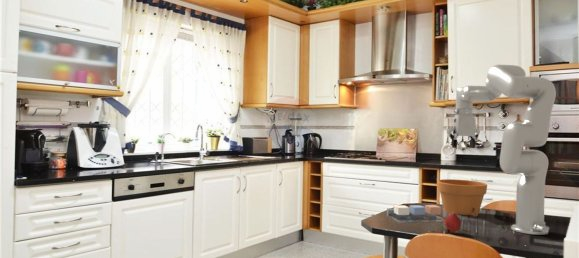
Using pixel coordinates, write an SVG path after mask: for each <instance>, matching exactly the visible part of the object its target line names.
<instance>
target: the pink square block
mask: <svg viewBox="0 0 579 258" xmlns="http://www.w3.org/2000/svg"><path fill="white" fill-rule="evenodd" d="M424 207H425V212H426V213H428V214H430V215H431V214H436V215H441V214H442V207H441V206H438V205H436V204H428V205H427V204H425V205H424Z"/></svg>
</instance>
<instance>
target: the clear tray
mask: <svg viewBox="0 0 579 258" xmlns="http://www.w3.org/2000/svg"><path fill="white" fill-rule="evenodd" d="M386 216H387V217H389V218H390V219H392V220H394V221H396V222H398V223H426V222H427V223H429V222H430V223H432V222H434V223H435V222H441V223H442V222H445V219H446V218H443V217H440V215H438V214H431V215H430V214H428V213H426V212H425V215H414V214H412V213H410V207H409V215H397V214H396V213H394V207H393V208H391V207H389V208H386Z"/></svg>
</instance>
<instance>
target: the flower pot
mask: <svg viewBox="0 0 579 258" xmlns="http://www.w3.org/2000/svg"><path fill="white" fill-rule="evenodd" d="M437 190H438V192H439V194H440V197H441V204H442V208H443V211H444V212H445V213H449V214H451V212H454V213H455V215H459V216H460V215H461V216H462V215H464V216H471V217H475V218H476V217H477V216H479V213H480V210H481V206H482V204H483V200H484V196H485V195H487V190H488V184H487V183H485V182H482V181H477V180H469V179H468V180H467V179H453V178H452V179H451V178H447V179H439V180H437Z"/></svg>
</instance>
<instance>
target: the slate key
mask: <svg viewBox="0 0 579 258" xmlns="http://www.w3.org/2000/svg"><path fill="white" fill-rule="evenodd" d="M409 208H410V213H412V214H414V215H425V206H423V205H421V204H419V205H418V204H417V205H416V204H415V205H413V204H412V205H411V204H410V205H409Z"/></svg>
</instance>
